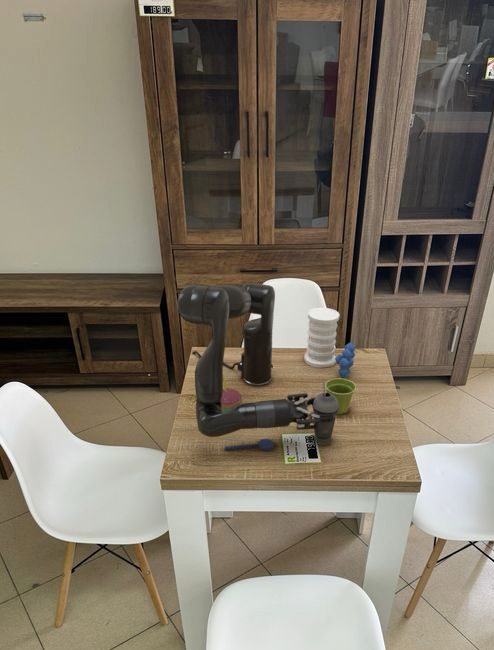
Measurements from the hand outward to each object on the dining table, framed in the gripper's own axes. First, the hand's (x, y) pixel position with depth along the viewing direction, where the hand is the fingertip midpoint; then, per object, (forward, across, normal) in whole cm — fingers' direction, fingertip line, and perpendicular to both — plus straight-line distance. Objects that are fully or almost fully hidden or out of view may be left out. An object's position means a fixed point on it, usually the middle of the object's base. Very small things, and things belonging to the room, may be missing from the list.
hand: (328, 408), depth 150 cm
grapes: (+16, +35, +11) cm, 40 cm away
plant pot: (+8, +15, +11) cm, 20 cm away
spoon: (-22, 0, +11) cm, 25 cm away
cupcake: (-26, +19, +11) cm, 34 cm away
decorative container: (+11, +47, +11) cm, 50 cm away
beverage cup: (-1, 0, +11) cm, 11 cm away
